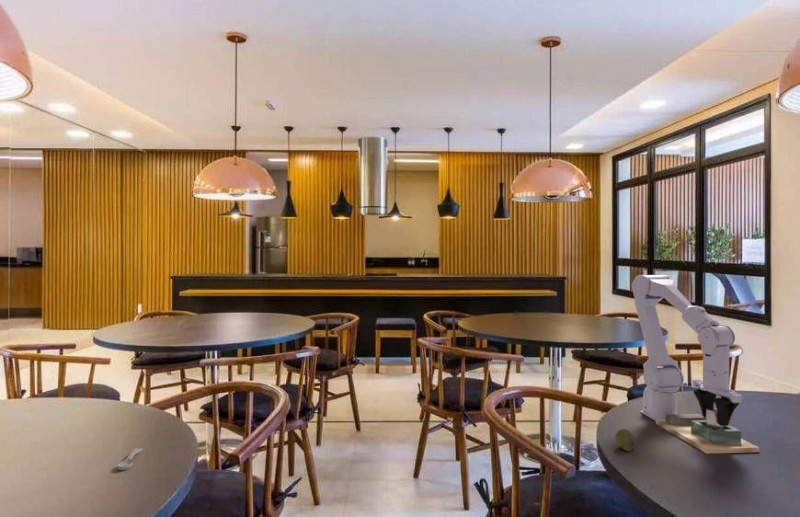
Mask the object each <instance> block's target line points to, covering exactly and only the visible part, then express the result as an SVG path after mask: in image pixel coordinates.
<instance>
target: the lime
mask: <svg viewBox="0 0 800 517" xmlns="http://www.w3.org/2000/svg"><path fill="white" fill-rule="evenodd" d="M614 440H615V443H616V444H617V446H618V447H619V448H621V449H622V450H623V451H626V452H630V451H632V450H633V449H634V447H635V438H634V435H633V433H632V431H630V430H628V429H626V428H625V429H624V428H622V429H619V430H618V431H617V432H616V433H615V437H614Z"/></svg>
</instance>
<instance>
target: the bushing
mask: <svg viewBox="0 0 800 517" xmlns="http://www.w3.org/2000/svg"><path fill="white" fill-rule="evenodd" d="M706 426H707V427H709V428H711V429H713V430H724V426H721V425H719V423H718V412H717V408H714V407H713V408H706Z"/></svg>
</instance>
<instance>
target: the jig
mask: <svg viewBox="0 0 800 517" xmlns="http://www.w3.org/2000/svg"><path fill="white" fill-rule="evenodd" d="M655 424H656V425H658V426H659V427H661V428H662V429H664V430H666V432H669V433H671V434H673V435H674V436H676V437H677V438H679V439H681V440H682V441H685V442H687V444H690V445H691V446H692V447H695V448H696V449H698V450H700V451H701V452H703V453H705V454H708V455H709V454H734V453H735V454H737V453H738V454H739V453H742V454H743V453H759V452H760V447H759V446H757V445H755V444H753V443H751V442H749V441H747V440H745V439H743V438H742V431H741V430H740V429H737V428H736V427H734V426H731V425H729V424H728V426H724V430H713V429H711V428H709V427H707V426H706V418H704V417H703V415H701V414H699V413H687V414H686V413H684V414H683V413H682V414H681V413H679V414H678V413H677V414H671V415H666V419H664V420H656V421H655Z"/></svg>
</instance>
